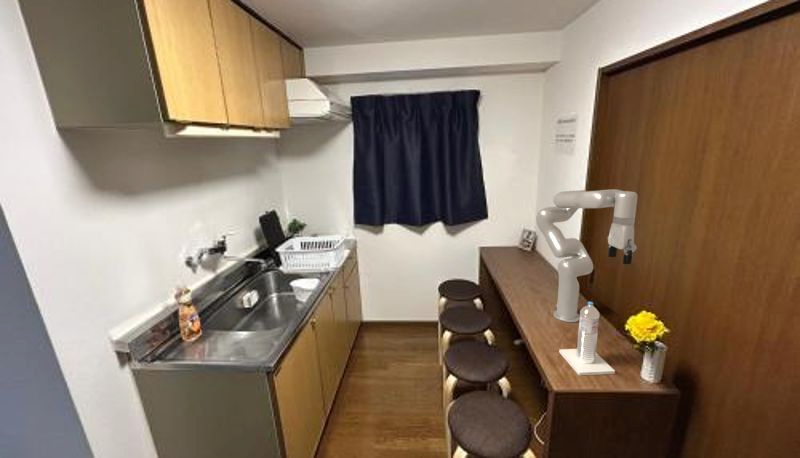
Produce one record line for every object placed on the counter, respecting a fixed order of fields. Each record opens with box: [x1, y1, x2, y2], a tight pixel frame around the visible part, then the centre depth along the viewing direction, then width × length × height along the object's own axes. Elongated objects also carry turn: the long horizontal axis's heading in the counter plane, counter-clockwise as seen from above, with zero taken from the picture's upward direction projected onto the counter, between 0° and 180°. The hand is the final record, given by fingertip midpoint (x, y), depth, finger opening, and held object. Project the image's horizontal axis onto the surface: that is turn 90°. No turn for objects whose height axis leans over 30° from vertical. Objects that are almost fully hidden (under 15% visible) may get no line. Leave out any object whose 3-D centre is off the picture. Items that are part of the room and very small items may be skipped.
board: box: [558, 348, 616, 376], centre depth 139 cm, size 16×14×1 cm
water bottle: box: [576, 301, 601, 363], centre depth 137 cm, size 7×7×25 cm
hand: (619, 260), depth 146 cm, fingers open, 9 cm apart
